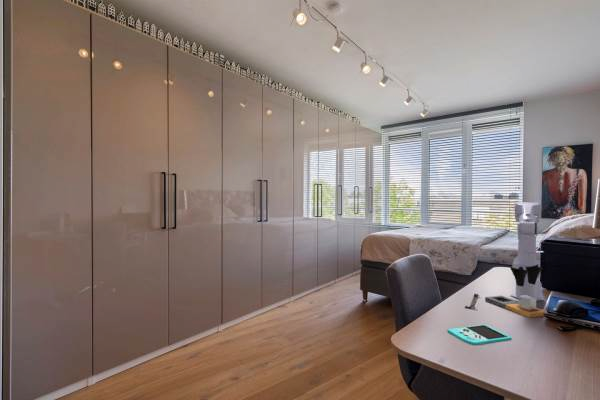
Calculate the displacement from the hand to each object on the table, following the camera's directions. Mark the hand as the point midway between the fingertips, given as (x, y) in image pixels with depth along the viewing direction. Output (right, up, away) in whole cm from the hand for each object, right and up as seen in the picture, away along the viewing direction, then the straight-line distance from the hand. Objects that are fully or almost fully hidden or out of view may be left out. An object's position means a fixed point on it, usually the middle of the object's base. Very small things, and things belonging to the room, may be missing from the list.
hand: (526, 284), depth 122 cm
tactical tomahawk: (-17, -10, +6) cm, 20 cm away
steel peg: (-3, -10, -5) cm, 11 cm away
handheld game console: (-34, -10, -25) cm, 43 cm away
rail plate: (-4, -9, 0) cm, 10 cm away
